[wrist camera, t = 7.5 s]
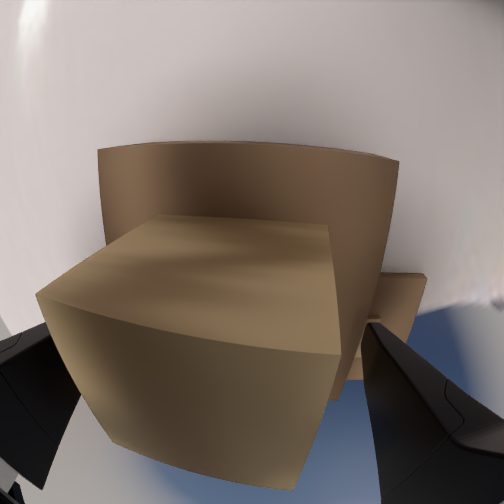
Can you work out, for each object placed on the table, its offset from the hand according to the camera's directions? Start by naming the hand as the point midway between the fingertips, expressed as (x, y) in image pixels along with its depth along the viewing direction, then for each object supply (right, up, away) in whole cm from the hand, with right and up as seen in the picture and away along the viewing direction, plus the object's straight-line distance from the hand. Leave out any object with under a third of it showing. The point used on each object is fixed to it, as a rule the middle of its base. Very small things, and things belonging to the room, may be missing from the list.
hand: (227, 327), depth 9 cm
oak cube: (0, +1, +2) cm, 2 cm away
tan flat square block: (+1, +2, +6) cm, 6 cm away
